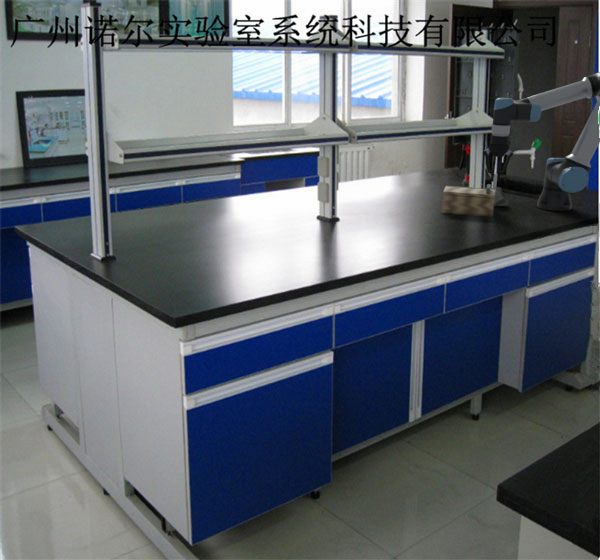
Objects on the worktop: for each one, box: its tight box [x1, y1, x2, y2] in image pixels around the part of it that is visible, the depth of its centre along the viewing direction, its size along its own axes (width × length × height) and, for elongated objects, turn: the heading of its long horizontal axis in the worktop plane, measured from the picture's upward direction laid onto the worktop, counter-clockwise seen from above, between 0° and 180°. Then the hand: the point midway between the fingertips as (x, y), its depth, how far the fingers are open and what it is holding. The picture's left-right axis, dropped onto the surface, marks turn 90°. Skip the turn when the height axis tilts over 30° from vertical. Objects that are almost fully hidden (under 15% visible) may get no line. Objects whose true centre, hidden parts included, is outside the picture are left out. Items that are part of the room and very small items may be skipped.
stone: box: [490, 186, 510, 207], centre depth 331 cm, size 10×10×10 cm
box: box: [441, 185, 495, 218], centre depth 319 cm, size 22×14×10 cm, turn 74°
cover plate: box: [443, 183, 495, 195], centre depth 317 cm, size 22×12×4 cm, turn 74°
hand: (494, 189), depth 314 cm, fingers closed
